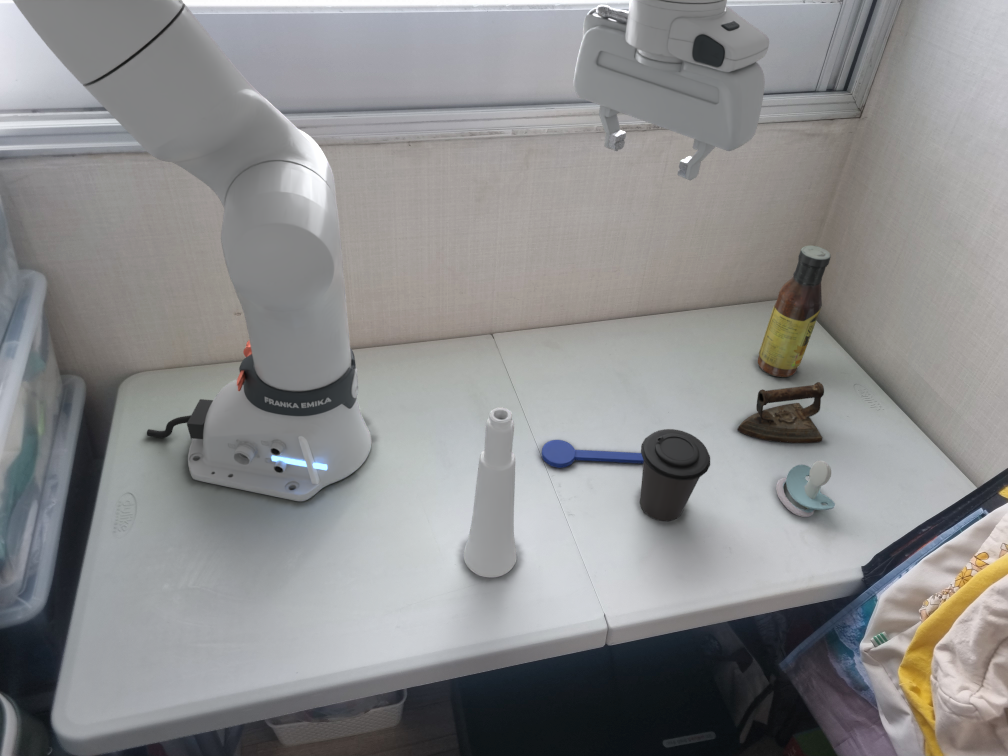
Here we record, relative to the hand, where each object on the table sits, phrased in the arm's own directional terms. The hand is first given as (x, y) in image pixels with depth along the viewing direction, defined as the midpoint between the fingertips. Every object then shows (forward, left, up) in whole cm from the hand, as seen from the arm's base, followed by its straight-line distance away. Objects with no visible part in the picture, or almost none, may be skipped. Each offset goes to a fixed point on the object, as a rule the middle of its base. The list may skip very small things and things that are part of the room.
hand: (649, 162), depth 82 cm
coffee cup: (+6, -15, -38) cm, 41 cm away
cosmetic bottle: (-15, -24, -38) cm, 47 cm away
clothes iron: (+24, 0, -38) cm, 45 cm away
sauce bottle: (+28, +14, -38) cm, 50 cm away
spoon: (0, -7, -38) cm, 39 cm away
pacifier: (+24, -13, -38) cm, 47 cm away
